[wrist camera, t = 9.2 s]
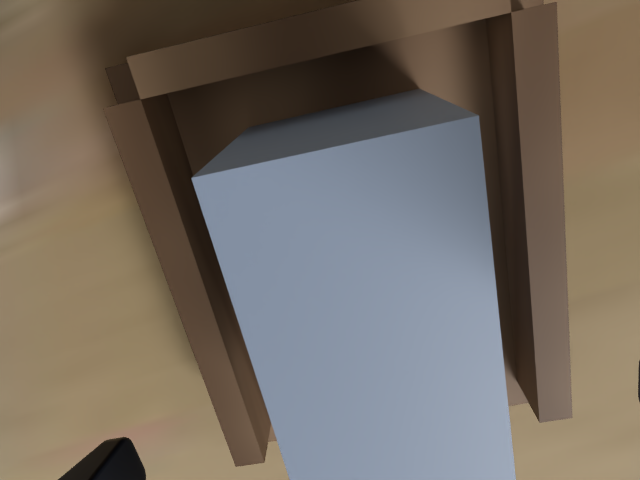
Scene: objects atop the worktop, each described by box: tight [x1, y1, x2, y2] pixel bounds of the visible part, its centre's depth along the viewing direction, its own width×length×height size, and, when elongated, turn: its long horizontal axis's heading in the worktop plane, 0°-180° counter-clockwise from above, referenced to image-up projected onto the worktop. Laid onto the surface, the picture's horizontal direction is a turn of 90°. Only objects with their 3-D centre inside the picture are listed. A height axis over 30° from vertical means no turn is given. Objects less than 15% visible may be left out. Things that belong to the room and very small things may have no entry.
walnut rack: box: [103, 0, 572, 467], centre depth 15 cm, size 12×14×3 cm
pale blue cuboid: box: [191, 89, 516, 480], centre depth 13 cm, size 5×9×6 cm, turn 13°
